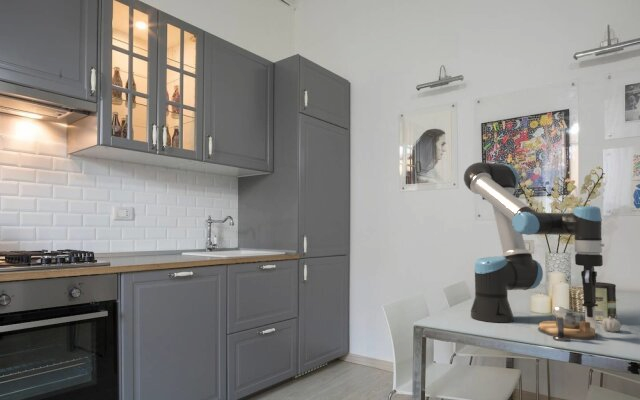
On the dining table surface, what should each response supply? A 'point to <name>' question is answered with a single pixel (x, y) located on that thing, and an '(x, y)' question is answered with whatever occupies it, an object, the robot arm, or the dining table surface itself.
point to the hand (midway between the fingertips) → (590, 326)
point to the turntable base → (570, 337)
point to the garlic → (611, 324)
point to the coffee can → (605, 301)
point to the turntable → (583, 332)
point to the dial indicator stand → (560, 324)
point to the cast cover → (570, 320)
